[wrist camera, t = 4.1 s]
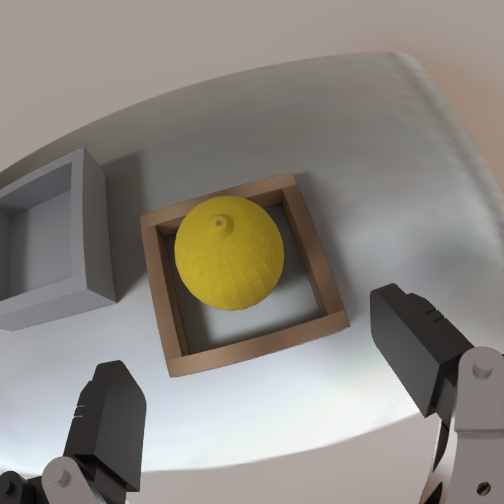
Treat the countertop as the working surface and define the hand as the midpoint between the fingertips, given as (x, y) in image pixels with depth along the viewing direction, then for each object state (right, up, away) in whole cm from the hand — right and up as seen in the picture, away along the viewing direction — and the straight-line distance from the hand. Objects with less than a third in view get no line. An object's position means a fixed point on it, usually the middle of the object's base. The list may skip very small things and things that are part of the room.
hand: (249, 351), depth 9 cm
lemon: (-1, +1, +11) cm, 11 cm away
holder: (-16, +3, +12) cm, 20 cm away
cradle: (-1, +1, +11) cm, 11 cm away
